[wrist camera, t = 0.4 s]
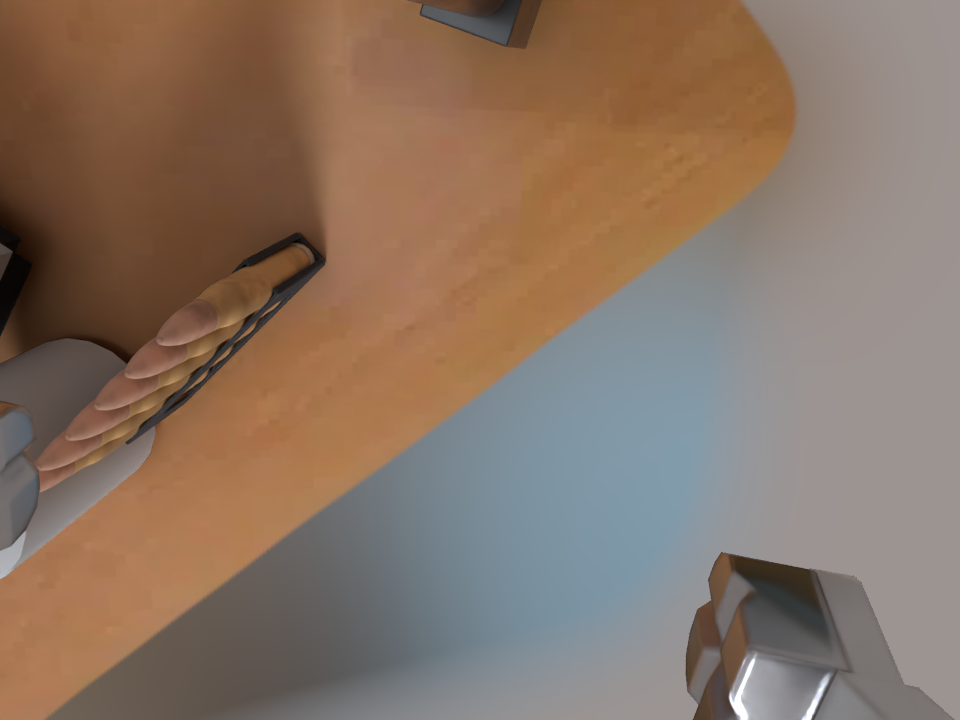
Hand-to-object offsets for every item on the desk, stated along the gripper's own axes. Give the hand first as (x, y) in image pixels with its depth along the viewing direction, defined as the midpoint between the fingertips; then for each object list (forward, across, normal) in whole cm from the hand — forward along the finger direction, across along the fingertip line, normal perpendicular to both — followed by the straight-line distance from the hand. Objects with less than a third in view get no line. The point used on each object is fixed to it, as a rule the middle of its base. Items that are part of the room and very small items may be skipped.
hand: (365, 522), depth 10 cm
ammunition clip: (+27, +11, +12) cm, 32 cm away
